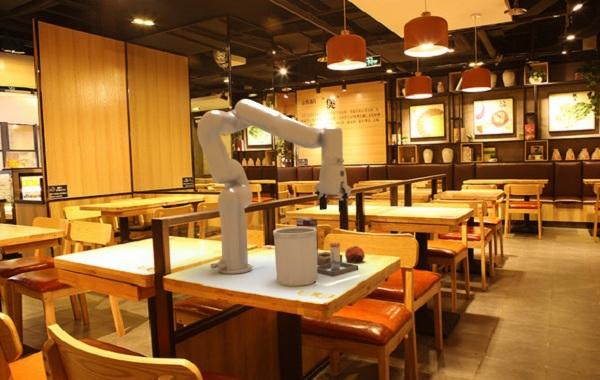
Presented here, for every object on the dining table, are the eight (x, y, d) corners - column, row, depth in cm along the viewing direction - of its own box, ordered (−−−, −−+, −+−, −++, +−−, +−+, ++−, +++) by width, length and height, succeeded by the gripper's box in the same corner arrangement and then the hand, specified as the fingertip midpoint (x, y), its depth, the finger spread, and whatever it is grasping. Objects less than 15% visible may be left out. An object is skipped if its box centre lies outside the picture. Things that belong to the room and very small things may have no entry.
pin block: (325, 269, 165) (325, 258, 165) (309, 265, 172) (308, 255, 171) (342, 265, 171) (342, 254, 170) (325, 261, 178) (325, 251, 177)
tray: (332, 279, 151) (332, 272, 151) (312, 274, 158) (312, 267, 158) (358, 272, 160) (358, 265, 159) (338, 267, 167) (337, 261, 167)
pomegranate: (365, 271, 169) (367, 251, 176) (360, 259, 164) (363, 239, 172) (346, 272, 172) (349, 252, 179) (341, 260, 167) (344, 240, 174)
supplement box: (296, 255, 191) (295, 218, 190) (305, 253, 194) (304, 217, 193) (310, 258, 184) (309, 220, 183) (318, 256, 188) (317, 219, 186)
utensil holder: (272, 287, 144) (270, 233, 143) (277, 275, 159) (275, 226, 157) (318, 286, 143) (316, 232, 142) (318, 274, 158) (317, 225, 157)
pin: (335, 273, 157) (335, 244, 156) (328, 271, 159) (328, 243, 158) (342, 271, 159) (341, 243, 158) (335, 270, 161) (334, 242, 161)
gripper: (357, 162, 153) (358, 211, 154) (322, 162, 166) (323, 208, 167) (342, 162, 148) (343, 213, 149) (307, 162, 161) (308, 209, 163)
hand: (332, 210), depth 158 cm, fingers open, 9 cm apart
